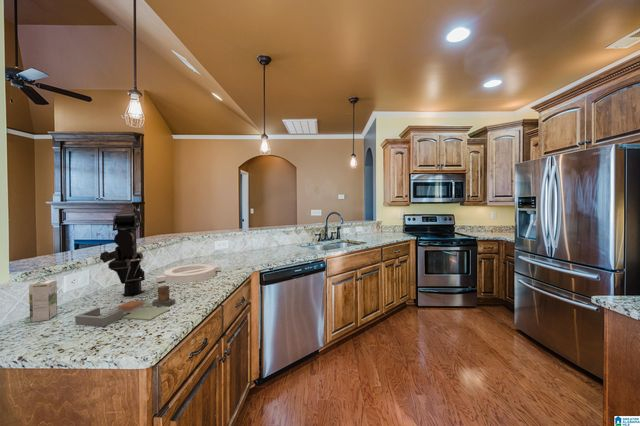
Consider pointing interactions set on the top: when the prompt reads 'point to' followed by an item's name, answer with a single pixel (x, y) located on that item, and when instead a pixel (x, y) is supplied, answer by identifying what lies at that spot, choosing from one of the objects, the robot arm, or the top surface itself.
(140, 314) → the mat
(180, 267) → the white circle with bar
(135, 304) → the tile
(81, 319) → the bay
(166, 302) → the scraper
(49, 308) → the syrup box
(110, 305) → the top surface
